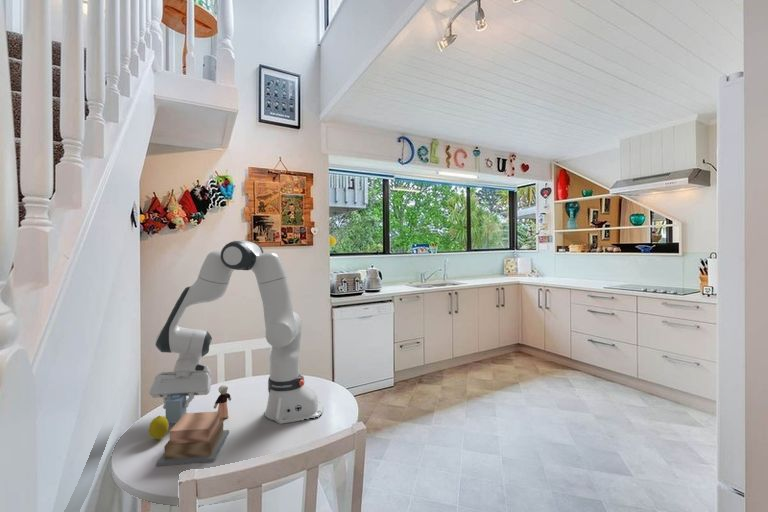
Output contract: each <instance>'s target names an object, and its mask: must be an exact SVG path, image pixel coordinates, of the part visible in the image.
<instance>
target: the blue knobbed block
mask: <svg viewBox="0 0 768 512" xmlns="http://www.w3.org/2000/svg"><path fill="white" fill-rule="evenodd" d="M186 400H187V396H186V394H184V395H180V394H175V395H171V396H170V397H169V398H168V399H167V400H166V401H165V409H164V410H165V418H166V419H167V420H168V424H176V423H177V422H178V421H179V419H180V418H181V417H182V416H183V415H184V413H187V408H183V407H182V405H183V401H186Z"/></svg>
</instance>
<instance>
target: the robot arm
mask: <svg viewBox="0 0 768 512" xmlns="http://www.w3.org/2000/svg"><path fill="white" fill-rule="evenodd" d="M250 270H251V271H252V273H254V275H255V278H256V282H257V286H258V290H259V293H260V299H261V302H262V307H263V318H264V326H265V327H264V328H265V339H266V342H267V343H268V344H269V346H271V352H270V357H269V377H268V380H267V391H268V399H267V402H266V403H267V405H266V409H265V411H264V415H265V417H266V418H267V419H269V420H271V421H275V422H276V423H277V424H281V425H282V424H288V423H293V422H300V420H301V421H305V420H304V419H307V420H310V419H309V418H314V419H316V418H315V417H318V418H320V417H321V416H322V415H321V413H322V411H323V412H324V403H323V402H322V401H321V400H320V399H318V395H317V393H316V391H315V389H314V388H311V387H310V386H308V385H307V384H306V383H305V377H304V374H302V375H301V374H300V363H299V362H300V351H301V350H300V349H301V338H302V326H303V325H302V324H303V323H302V319H301V316H300V314H299V313H298V312H296V311H294V309H293V298H292V297H293V296H292V292H291V288H290V285H289V280H288V276H287V274H286V270H285V267H284V265H283V262H282V260H281V259H280V256H279V255H278V254H277V253H275V252H270V251H269V252H268V251H267V252H264V249H263V247H262V246H261V245H260V244H259V243H257V242H255V241H249V240H245V239H243V240H234V241H230V242H229V243H226V244H225V245H224V246H223V248H222V249H221V250H215V251H210V252H209V253H208V254H207V255H206V257H205V258H204V260H203V263H202V264H201V267H200V270H199V271H198V277H197V279H196V280H195V282H193V283H192V285H191V286H187V287H185V288H184V289H183V290H182V292H181V294H180V296H179V298H178V299H177V301H176V302H175V304H174V306H173V308H172V310H171V312H170V314H169V316H168V318H167V320H166V322H165V324H164V325H163V327H162V328H161V329H160V330H159V332H158V334H157V335H156V338H155V347H156V348H157V349H158V351H160V352H161V353H166V354H167V353H170V354H171V353H173V354H178V358H177V359H176V361H175V364H174V368H173V370H172V371H162V372H160V373H158V374H157V375H155V377H154V379H153V380H154V381H153V383H152V385H151V387H150V390H149V395H150V396H151V397H152V398H153V399H154V398H155V399H156V398H157V399H158V398H162V400H163V406H162V408H163V409H164V410H165V401H166V400H167V399H168V398H169V397H170V396H171V395H175V394H180V395H184V394H186V397H188V398H186V401H183V405H182V407H183V408H186V409H187V408H188V407H189V406H190V405H189V404H190V403H191V402H192V400H193V399H194V398H195V396H206V395H208V394H209V393H210V392H211V387H212V379H211V375H212V371H211V369H210V368H209V367H208V366H207V365H204V364H202V363H201V360H202V358H203V357H206V355H208V354H209V351H210V345H211V343H212V339H213V337H212V335H211V334H210V332H208V331H207V330H205V329H197V328H189V327H183V326H179V325H178V324H179V323H180V320H181V319H182V317H183V315H184V313H185V311H186V310H187V308H189V307H190V306H193V305H197V304H204V303H210V302H214V301H217V300H219V299H221V298H222V297H223V296H224V295H225V293H226V291H227V289H228V286H229V283H230V280H231V276H232V274H233V272H234V271H250ZM318 402H322V403H318ZM319 412H320V413H319ZM322 414H323V413H322ZM320 415H321V416H320ZM319 416H320V417H319Z"/></svg>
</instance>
